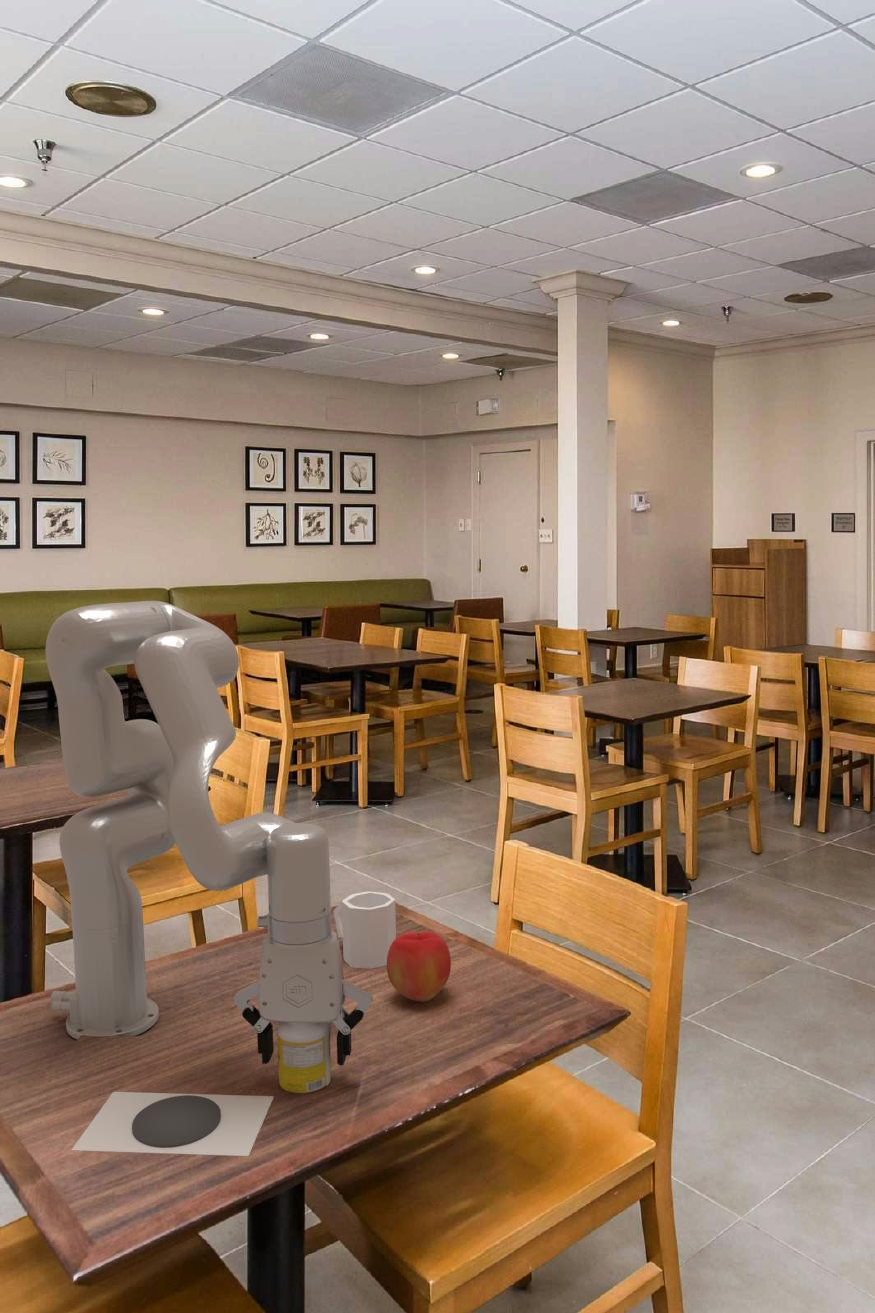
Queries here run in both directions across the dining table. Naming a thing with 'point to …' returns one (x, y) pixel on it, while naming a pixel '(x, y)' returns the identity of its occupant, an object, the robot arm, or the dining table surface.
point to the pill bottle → (303, 1056)
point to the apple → (418, 965)
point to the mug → (366, 928)
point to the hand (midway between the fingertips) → (305, 1058)
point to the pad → (176, 1121)
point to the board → (227, 1139)
